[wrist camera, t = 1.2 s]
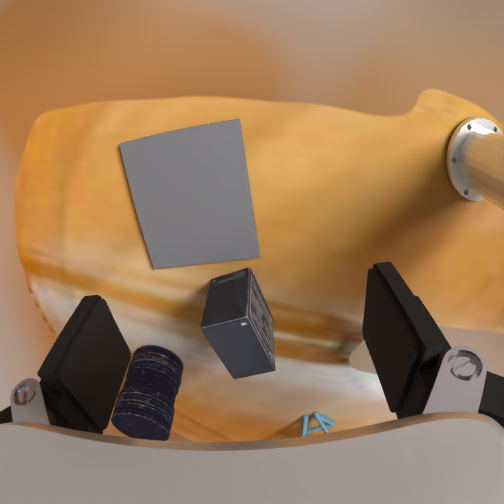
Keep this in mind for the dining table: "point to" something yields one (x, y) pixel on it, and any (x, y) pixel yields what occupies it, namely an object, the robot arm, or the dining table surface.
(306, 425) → the chair
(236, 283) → the small box
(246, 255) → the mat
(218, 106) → the dining table surface
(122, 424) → the storage jar
